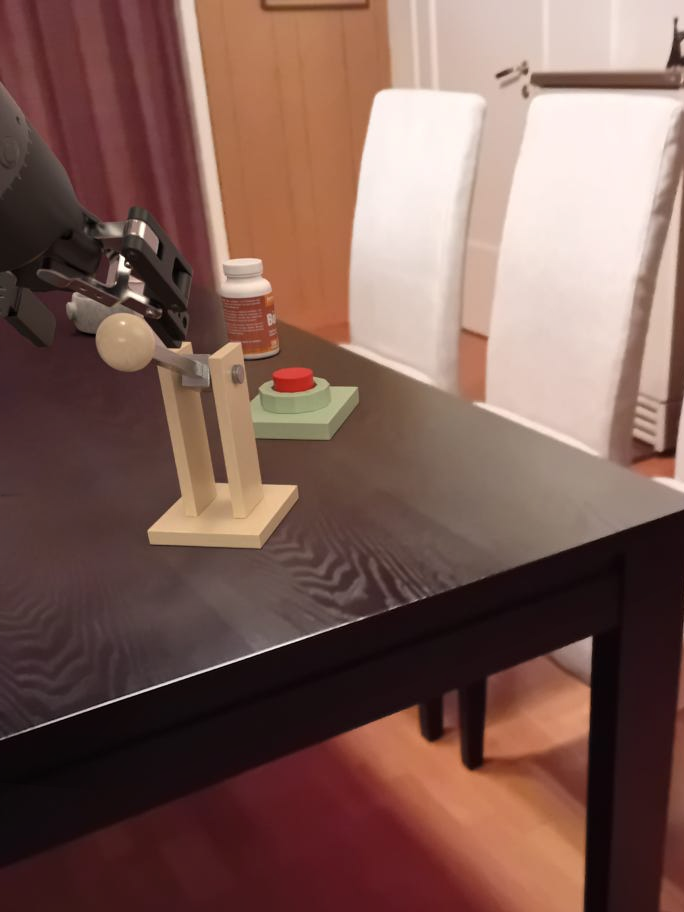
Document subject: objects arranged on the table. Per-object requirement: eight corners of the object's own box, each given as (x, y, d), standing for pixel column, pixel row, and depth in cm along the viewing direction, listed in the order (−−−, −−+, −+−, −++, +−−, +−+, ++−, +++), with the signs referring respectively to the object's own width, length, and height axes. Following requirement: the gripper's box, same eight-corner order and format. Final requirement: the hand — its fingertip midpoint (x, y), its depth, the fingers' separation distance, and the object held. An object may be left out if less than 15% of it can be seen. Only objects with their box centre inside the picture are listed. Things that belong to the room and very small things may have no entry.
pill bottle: (282, 357, 124) (270, 263, 119) (232, 363, 123) (217, 267, 117) (277, 345, 130) (265, 254, 124) (228, 350, 128) (214, 258, 123)
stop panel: (329, 440, 98) (326, 405, 96) (231, 438, 99) (225, 403, 97) (359, 402, 108) (356, 369, 106) (269, 400, 109) (265, 368, 108)
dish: (192, 314, 147) (186, 278, 144) (157, 338, 135) (150, 299, 132) (97, 314, 148) (89, 278, 145) (54, 338, 136) (45, 300, 134)
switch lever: (139, 367, 62) (139, 307, 62) (84, 366, 63) (84, 306, 62) (232, 400, 77) (233, 352, 77) (188, 400, 78) (188, 352, 77)
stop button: (308, 396, 100) (306, 378, 99) (269, 395, 101) (267, 378, 100) (319, 384, 104) (317, 367, 103) (281, 383, 104) (279, 366, 103)
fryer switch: (260, 548, 77) (233, 369, 70) (149, 544, 78) (111, 367, 71) (299, 498, 85) (278, 333, 78) (198, 495, 87) (168, 332, 80)
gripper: (106, 76, 47) (231, 282, 62) (-171, 83, 49) (17, 281, 64) (77, 216, 45) (213, 392, 60) (-209, 218, 47) (-6, 388, 62)
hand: (112, 335), depth 62 cm, fingers open, 8 cm apart
